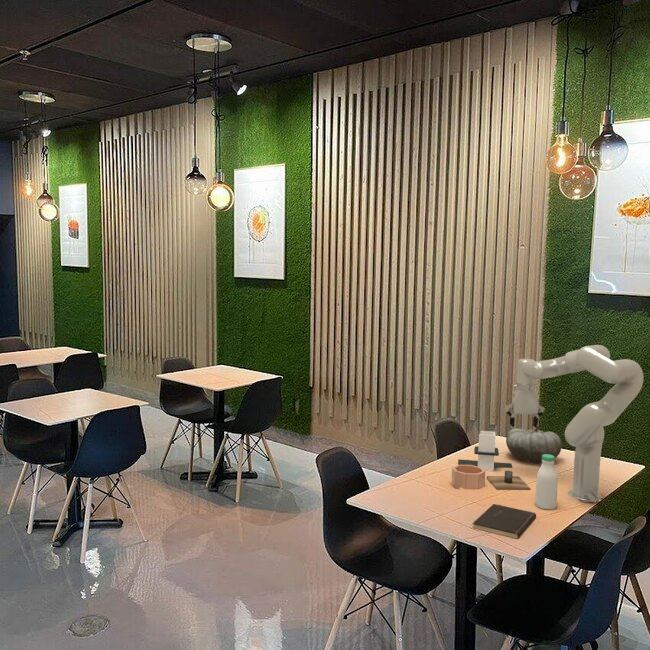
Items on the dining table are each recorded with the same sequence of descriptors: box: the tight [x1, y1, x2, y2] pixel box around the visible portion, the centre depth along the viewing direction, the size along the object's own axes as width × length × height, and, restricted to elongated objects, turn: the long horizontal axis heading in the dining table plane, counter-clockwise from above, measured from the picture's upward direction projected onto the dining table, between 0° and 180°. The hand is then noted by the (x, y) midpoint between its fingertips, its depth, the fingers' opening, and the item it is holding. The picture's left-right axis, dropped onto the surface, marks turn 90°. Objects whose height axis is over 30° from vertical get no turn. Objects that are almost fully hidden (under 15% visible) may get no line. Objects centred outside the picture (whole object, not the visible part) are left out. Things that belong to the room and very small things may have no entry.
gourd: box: [505, 424, 563, 464], centre depth 312 cm, size 25×25×17 cm
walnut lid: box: [486, 470, 532, 491], centre depth 273 cm, size 14×14×5 cm
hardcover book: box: [472, 503, 537, 540], centre depth 234 cm, size 16×23×2 cm
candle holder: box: [457, 430, 513, 472], centre depth 295 cm, size 25×24×16 cm
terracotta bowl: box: [451, 464, 486, 490], centre depth 273 cm, size 13×13×7 cm
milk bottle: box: [534, 454, 559, 511], centre depth 250 cm, size 8×8×20 cm
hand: (523, 426), depth 284 cm, fingers open, 9 cm apart
